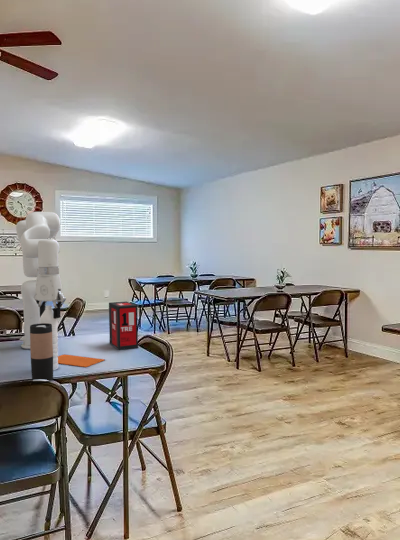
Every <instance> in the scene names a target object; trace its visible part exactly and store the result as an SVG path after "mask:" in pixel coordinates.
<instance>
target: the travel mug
mask: <svg viewBox="0 0 400 540" xmlns="http://www.w3.org/2000/svg"><path fill="white" fill-rule="evenodd" d="M29 350H30V369H31V380H32V379H47V380H52V381H53V380H54V370H53V340H52V324H48V323H41V324H33V325H30V349H29Z"/></svg>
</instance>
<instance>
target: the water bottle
mask: <svg viewBox="0 0 400 540" xmlns="http://www.w3.org/2000/svg"><path fill="white" fill-rule="evenodd" d="M45 306H46V308H45V311H44V312H43V314H42V315H41V317H40V324H41V323H48V324H52V340H53V371H56V370H58V369H59V364H58V356H59V344H58V342H59V339H58V337H59V336H58V334H59V333H58V327H59V326H58V319H59V318H56V319H54V318H53V307H52V305H45ZM61 308H64V304H63V305H62V307H61ZM61 308H60V309H61Z"/></svg>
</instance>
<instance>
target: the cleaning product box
mask: <svg viewBox="0 0 400 540" xmlns="http://www.w3.org/2000/svg"><path fill="white" fill-rule="evenodd" d="M138 327H139V326H138V305H137V304H135V303H132V302H129V301H127V300H125V301H112V302H108V329H109V330H108V331H109V344H110V345H112V346H113V347H114V348H116V349H117V350H118V351H124V350H125V351H126V350H133V349H139V331H138V330H139V328H138Z"/></svg>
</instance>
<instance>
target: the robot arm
mask: <svg viewBox="0 0 400 540" xmlns="http://www.w3.org/2000/svg"><path fill="white" fill-rule="evenodd" d="M60 228H61V219H60V216H59V215H58V214H57V213H56V212H54V211H31V212H29V213H28V214H27V215H26V217H25V219H24V220H19V221H18V222H17V223H16V225H15V231H16V236H17V238H18V241H19V243H20V249H21V252H22V253H21V254H22V269H23V274H24V276H25V277H26V278H36V279H31V280H25V281H24V282H22V283H21V286H20V294H21V299H22V306H23V331H24V336H21V337H20V338H19V341H20V342H22V344H21V345H20V347H21V348H22V349H25V350H30V325H33V324H40V317H41V315H42V314H43V312H44V311H45V308H46V306H47V302H52V304H53V307H52V310H53V318H54V319H56V318H57V319H60V318H61V307H62V305H63V306H64V303H65V302H66V301H67V298H66V296H65V295H64V294H63V284H62V278H61V275H60V263H59V262H60V261H59V254H60V252H61V251H60V250H61V248H60V243H59V242H58V241H57V240H56V239H53V238H55V237H56V236H57V234H58V232H59V230H60ZM62 308H63V307H62Z"/></svg>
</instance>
